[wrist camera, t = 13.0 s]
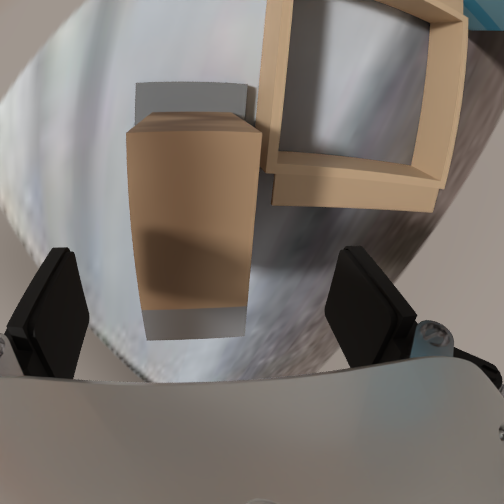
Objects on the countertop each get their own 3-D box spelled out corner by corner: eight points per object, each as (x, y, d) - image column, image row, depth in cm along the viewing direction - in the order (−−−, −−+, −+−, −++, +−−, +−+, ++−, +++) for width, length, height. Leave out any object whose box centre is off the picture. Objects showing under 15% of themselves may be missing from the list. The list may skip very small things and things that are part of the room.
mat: (245, 84, 19) (247, 84, 18) (232, 268, 26) (233, 273, 25) (137, 83, 18) (135, 83, 17) (143, 270, 24) (142, 276, 24)
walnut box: (231, 112, 19) (262, 132, 11) (223, 250, 24) (244, 336, 16) (152, 112, 18) (126, 133, 10) (156, 252, 23) (146, 340, 15)
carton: (436, 0, 17) (468, -4, 13) (409, 194, 26) (437, 212, 22) (272, -55, 14) (289, -77, 10) (250, 184, 23) (262, 205, 19)
